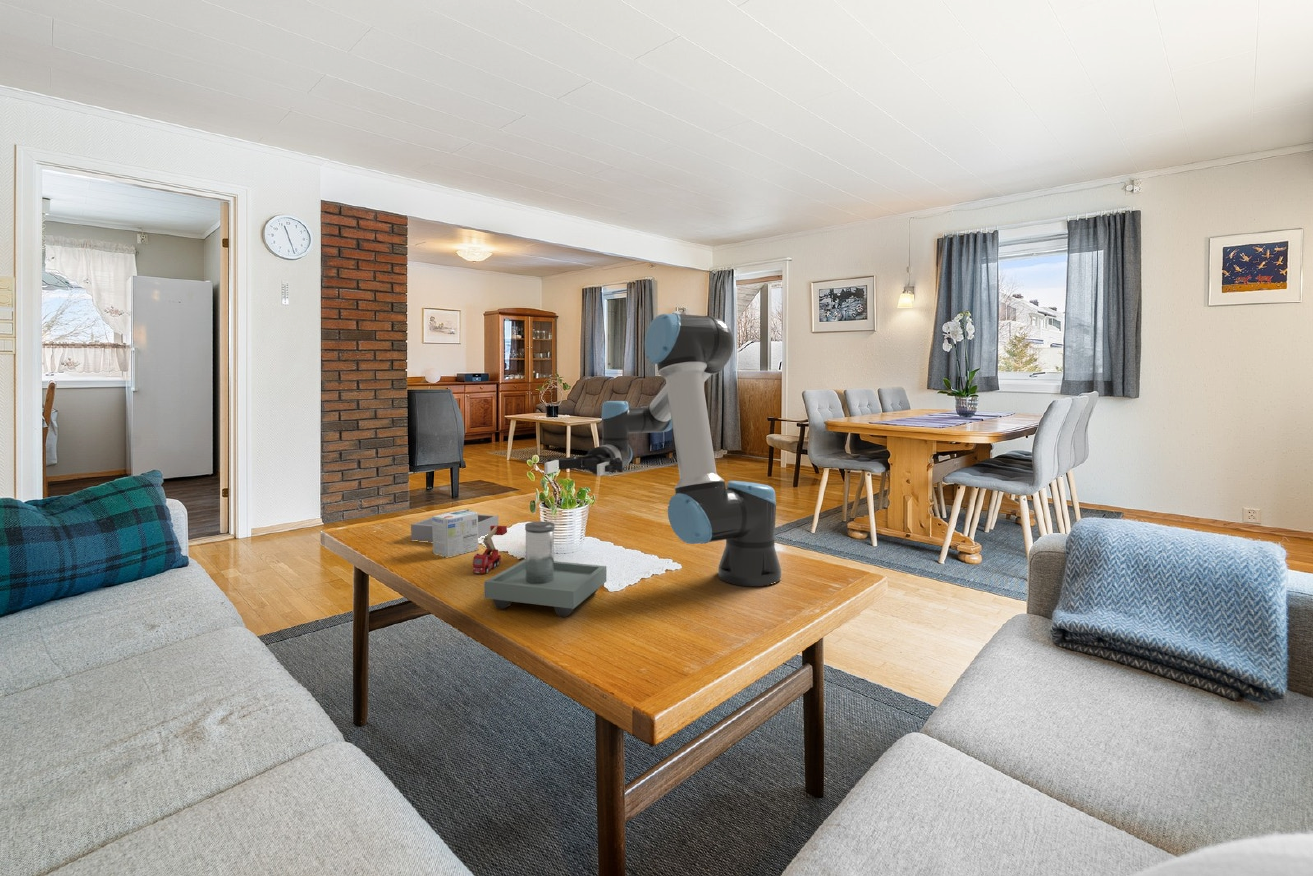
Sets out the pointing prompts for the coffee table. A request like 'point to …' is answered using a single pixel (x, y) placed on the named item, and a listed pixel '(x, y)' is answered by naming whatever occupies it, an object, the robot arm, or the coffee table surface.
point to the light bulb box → (455, 533)
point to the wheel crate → (424, 528)
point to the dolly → (546, 586)
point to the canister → (539, 552)
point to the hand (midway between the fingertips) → (571, 469)
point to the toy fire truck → (488, 552)
